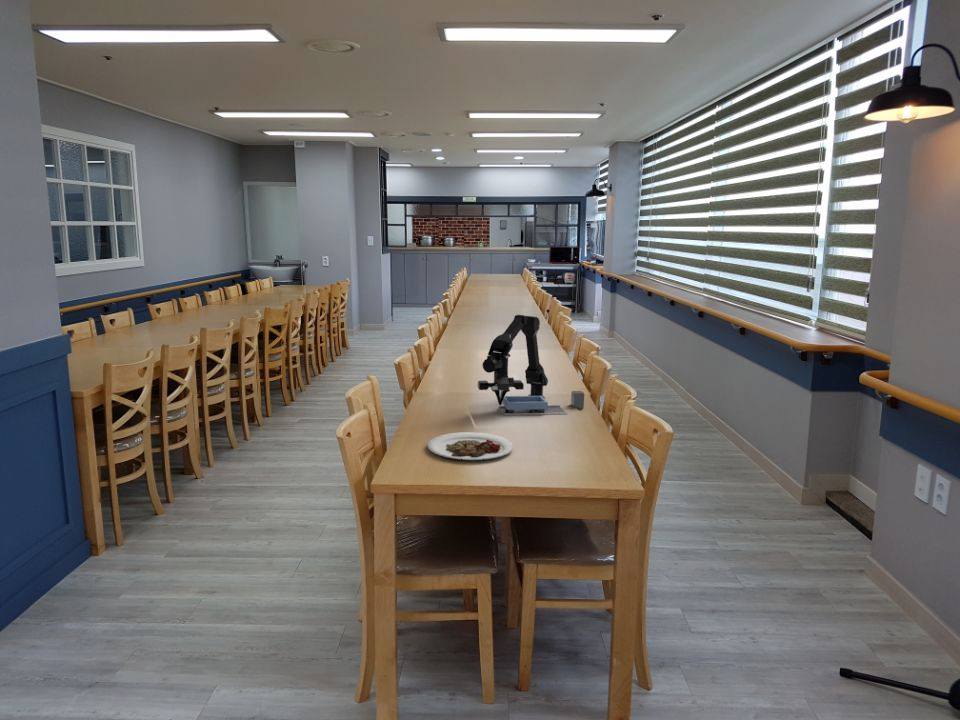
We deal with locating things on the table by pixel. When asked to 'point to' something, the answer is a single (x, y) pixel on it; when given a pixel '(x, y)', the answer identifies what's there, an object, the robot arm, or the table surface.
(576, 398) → the steel block
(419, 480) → the table surface
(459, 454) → the plated food
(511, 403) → the cart
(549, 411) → the track
